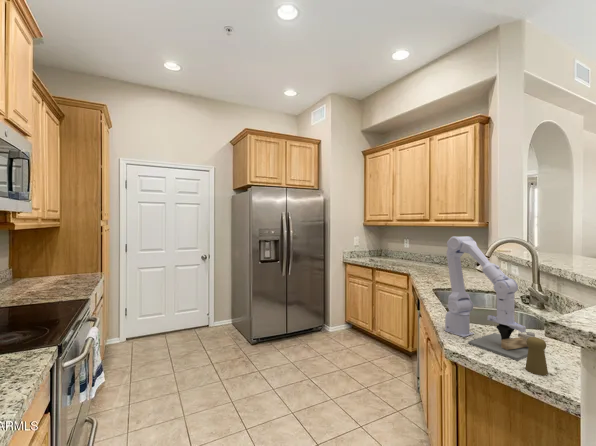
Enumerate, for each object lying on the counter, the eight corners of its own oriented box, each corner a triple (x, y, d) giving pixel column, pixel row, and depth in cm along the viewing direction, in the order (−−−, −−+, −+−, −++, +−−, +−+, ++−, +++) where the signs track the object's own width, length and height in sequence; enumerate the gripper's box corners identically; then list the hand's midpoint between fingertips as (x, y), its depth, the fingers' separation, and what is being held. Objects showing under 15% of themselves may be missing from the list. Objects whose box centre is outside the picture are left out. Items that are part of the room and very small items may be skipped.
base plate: (468, 343, 124) (468, 329, 124) (494, 335, 134) (494, 321, 134) (517, 360, 108) (517, 344, 108) (543, 349, 118) (543, 334, 118)
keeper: (518, 346, 118) (518, 333, 118) (520, 345, 119) (520, 332, 119) (533, 351, 114) (533, 337, 114) (535, 350, 115) (535, 336, 115)
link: (529, 342, 122) (529, 334, 122) (540, 346, 118) (540, 338, 118) (499, 346, 118) (498, 338, 118) (509, 350, 113) (509, 342, 114)
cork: (537, 366, 104) (537, 334, 104) (553, 375, 98) (552, 341, 98) (520, 367, 104) (520, 335, 104) (535, 375, 97) (534, 341, 98)
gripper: (532, 314, 112) (531, 350, 112) (496, 304, 126) (496, 336, 126) (517, 315, 110) (517, 352, 110) (483, 305, 124) (483, 338, 124)
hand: (505, 344), depth 118 cm, fingers closed, pressing on link
